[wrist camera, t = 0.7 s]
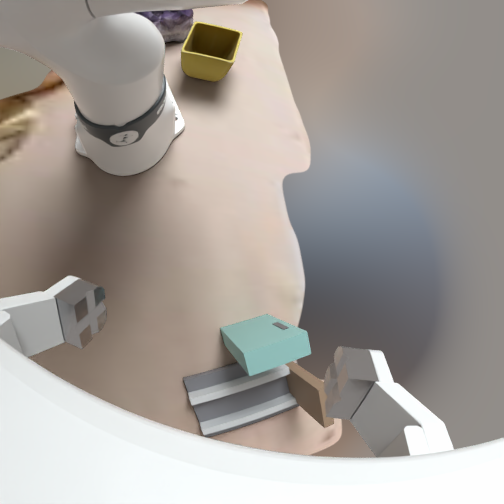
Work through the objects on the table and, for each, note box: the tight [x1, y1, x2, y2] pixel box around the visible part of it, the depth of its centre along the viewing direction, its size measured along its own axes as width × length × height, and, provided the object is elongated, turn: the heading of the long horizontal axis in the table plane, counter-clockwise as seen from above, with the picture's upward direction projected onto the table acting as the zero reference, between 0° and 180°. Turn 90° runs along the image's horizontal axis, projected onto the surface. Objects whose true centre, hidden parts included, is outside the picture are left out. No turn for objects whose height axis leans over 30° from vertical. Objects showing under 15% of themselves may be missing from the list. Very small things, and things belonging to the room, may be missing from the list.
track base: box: [183, 361, 334, 437], centre depth 38 cm, size 12×18×13 cm, turn 103°
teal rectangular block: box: [220, 314, 311, 376], centre depth 38 cm, size 3×8×14 cm, turn 103°
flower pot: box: [181, 22, 243, 82], centre depth 41 cm, size 9×9×9 cm
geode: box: [133, 9, 194, 43], centre depth 37 cm, size 20×12×10 cm, turn 98°
